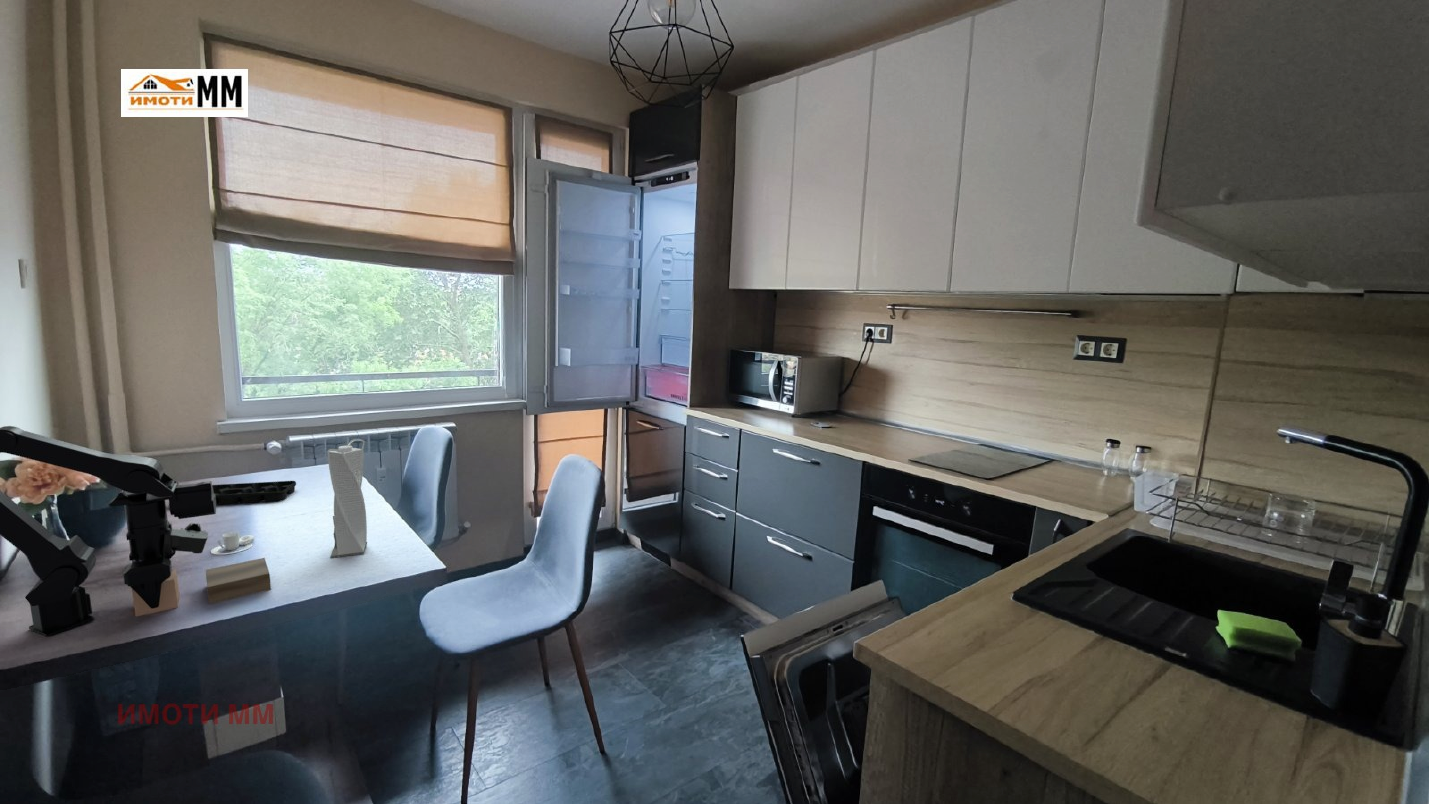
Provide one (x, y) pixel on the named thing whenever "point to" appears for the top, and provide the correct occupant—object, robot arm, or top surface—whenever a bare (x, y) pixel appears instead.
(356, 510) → the skyscraper
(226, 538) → the teacup and saucer
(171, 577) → the terracotta cube
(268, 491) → the egg carton
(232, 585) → the walnut block
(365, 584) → the top surface
